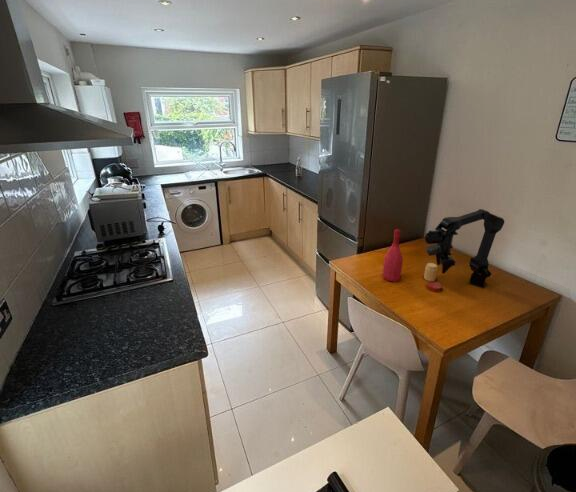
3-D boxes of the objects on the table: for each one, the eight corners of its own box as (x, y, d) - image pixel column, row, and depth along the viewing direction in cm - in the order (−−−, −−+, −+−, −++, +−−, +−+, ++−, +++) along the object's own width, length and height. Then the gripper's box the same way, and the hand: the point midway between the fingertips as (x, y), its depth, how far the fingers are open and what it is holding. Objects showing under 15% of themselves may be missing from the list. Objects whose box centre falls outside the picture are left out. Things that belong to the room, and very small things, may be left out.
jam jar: (436, 278, 172) (439, 264, 169) (433, 282, 168) (436, 268, 165) (425, 274, 176) (428, 261, 173) (422, 278, 172) (424, 265, 169)
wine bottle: (402, 282, 168) (410, 232, 157) (384, 282, 168) (391, 232, 157) (396, 273, 177) (403, 226, 166) (380, 273, 177) (386, 226, 167)
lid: (425, 288, 162) (426, 285, 162) (429, 283, 167) (430, 280, 166) (438, 293, 158) (439, 289, 158) (442, 287, 163) (443, 284, 162)
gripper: (424, 234, 165) (420, 260, 170) (434, 248, 148) (429, 276, 153) (446, 235, 163) (441, 261, 168) (458, 250, 146) (452, 278, 151)
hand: (440, 269), depth 160 cm, fingers open, 9 cm apart
